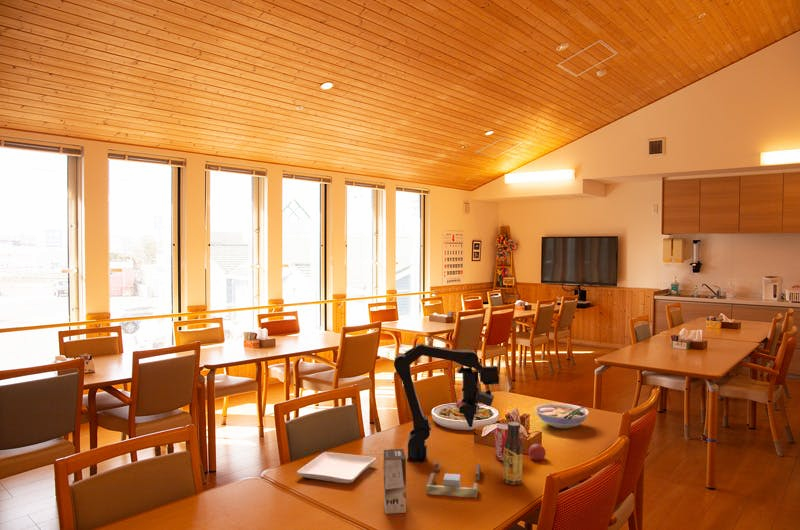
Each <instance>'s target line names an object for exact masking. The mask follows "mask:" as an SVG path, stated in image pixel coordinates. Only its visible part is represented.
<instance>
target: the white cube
mask: <svg viewBox="0 0 800 530" xmlns="http://www.w3.org/2000/svg"><path fill="white" fill-rule="evenodd" d="M461 481H462V480H461V474H456V473H445V474H444V476H443V482H442V483H443V485H442V486H453V487H462V486H461Z"/></svg>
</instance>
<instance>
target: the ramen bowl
mask: <svg viewBox="0 0 800 530" xmlns="http://www.w3.org/2000/svg"><path fill="white" fill-rule="evenodd" d="M585 407H586V404H584V405H582V406H579V405H574V404H570V403H560V402H559V403H543V404H540V405H539V404H538V405H536V406H535V407H534V410H535V412H536V414H537V415H538V417H539V419H540V420H541V421H542V422H543V423H545V424H547V425H549V426H552V427H553V428H554V429H557V430H558V429H559V430H569V429H570V428H574V427H576V426H579V425H580V424H582V423H583V422H584V421H585V420H586V418H587V416H588V414H589V413H590V412H589V410H588V409H587V408H585Z"/></svg>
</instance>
